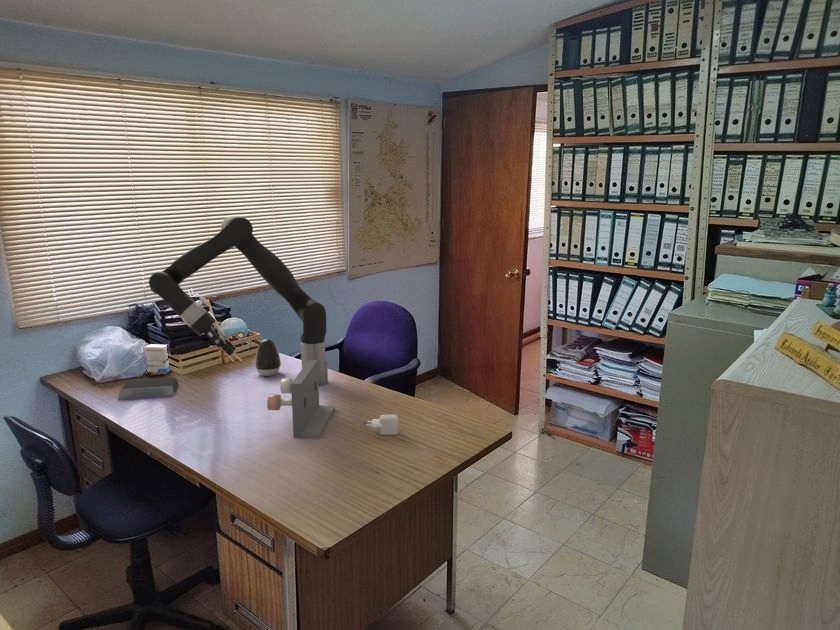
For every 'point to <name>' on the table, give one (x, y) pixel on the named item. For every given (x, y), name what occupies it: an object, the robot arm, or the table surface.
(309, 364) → the knob mount
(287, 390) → the cream knob
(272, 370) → the dark grey tapered speaker
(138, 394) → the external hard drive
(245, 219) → the robot arm
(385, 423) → the power adapter
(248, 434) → the table surface
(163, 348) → the ink box
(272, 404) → the terracotta knob
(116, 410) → the table surface
